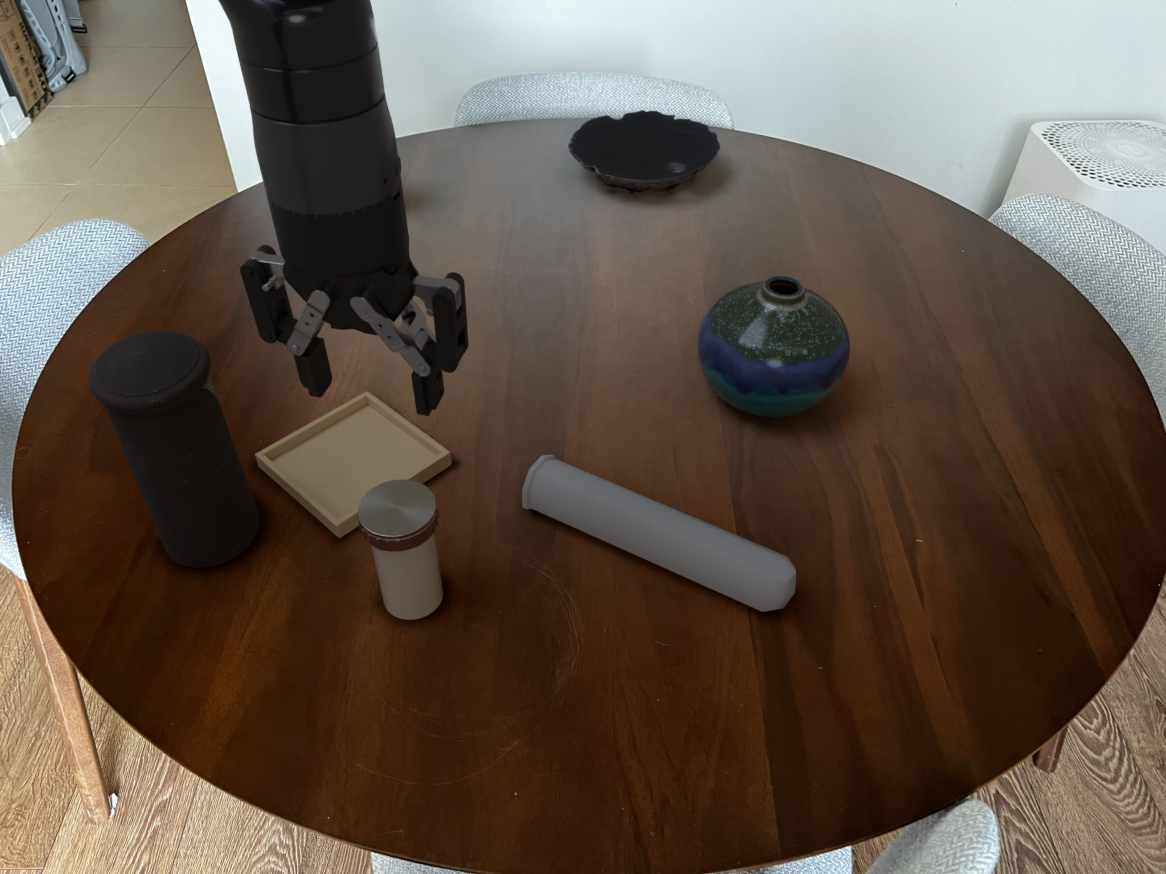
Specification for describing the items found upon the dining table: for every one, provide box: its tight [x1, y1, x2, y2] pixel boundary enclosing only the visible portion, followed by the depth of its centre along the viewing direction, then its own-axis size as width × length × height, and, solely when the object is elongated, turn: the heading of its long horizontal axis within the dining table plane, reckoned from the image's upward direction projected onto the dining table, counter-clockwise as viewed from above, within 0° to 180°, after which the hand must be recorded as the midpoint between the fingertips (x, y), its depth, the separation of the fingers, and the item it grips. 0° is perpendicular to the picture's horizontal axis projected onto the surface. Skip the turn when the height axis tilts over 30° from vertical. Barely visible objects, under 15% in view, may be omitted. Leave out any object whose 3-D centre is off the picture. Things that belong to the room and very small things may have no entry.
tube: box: [521, 454, 797, 613], centre depth 79 cm, size 5×5×25 cm
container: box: [88, 330, 261, 569], centre depth 75 cm, size 9×9×20 cm
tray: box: [254, 390, 453, 539], centre depth 88 cm, size 13×13×2 cm
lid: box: [357, 480, 440, 552], centre depth 70 cm, size 6×6×2 cm
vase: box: [696, 275, 851, 418], centre depth 93 cm, size 15×15×13 cm
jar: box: [370, 533, 444, 621], centre depth 73 cm, size 5×5×10 cm
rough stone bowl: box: [567, 109, 721, 195], centre depth 132 cm, size 22×22×5 cm
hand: (374, 398), depth 62 cm, fingers open, 7 cm apart
